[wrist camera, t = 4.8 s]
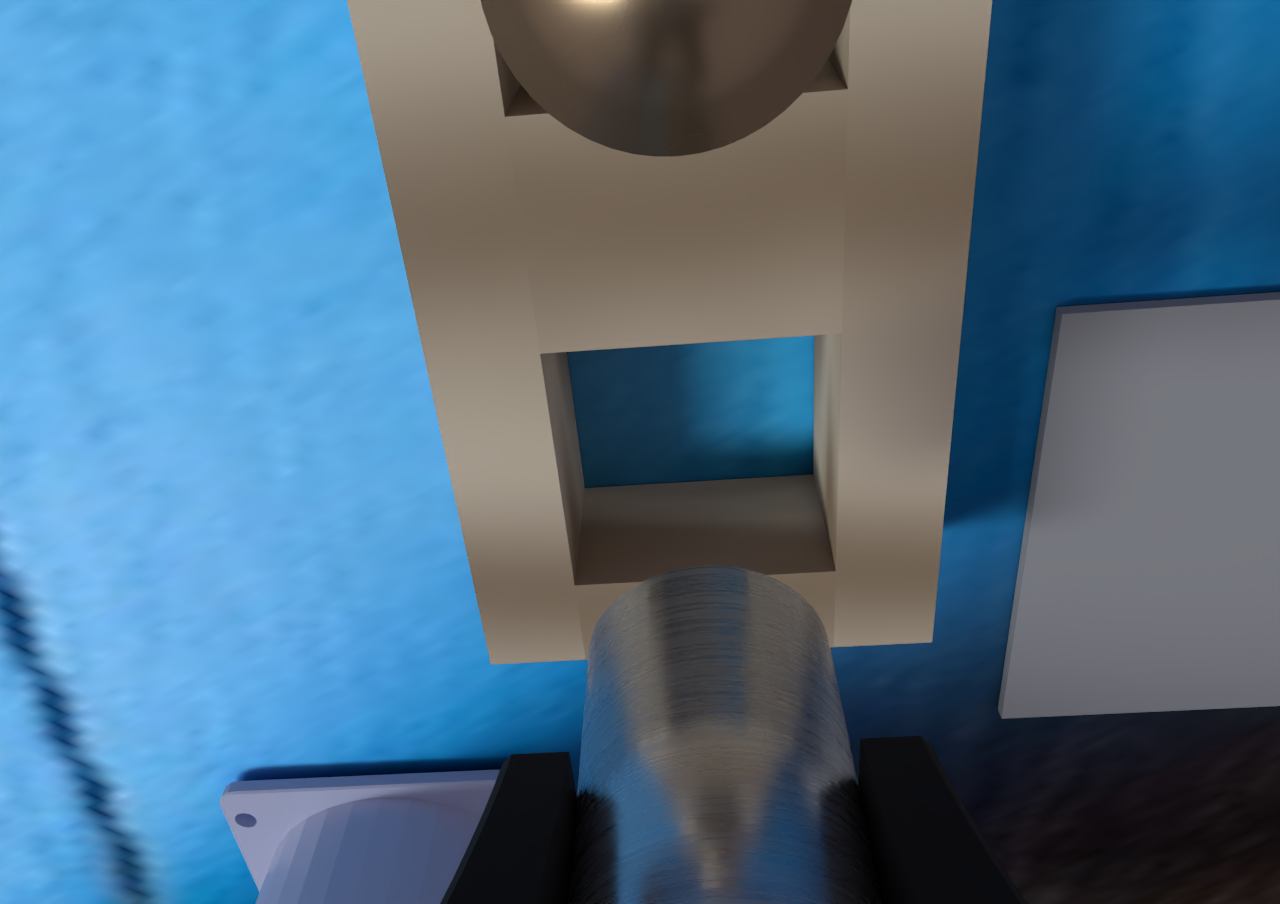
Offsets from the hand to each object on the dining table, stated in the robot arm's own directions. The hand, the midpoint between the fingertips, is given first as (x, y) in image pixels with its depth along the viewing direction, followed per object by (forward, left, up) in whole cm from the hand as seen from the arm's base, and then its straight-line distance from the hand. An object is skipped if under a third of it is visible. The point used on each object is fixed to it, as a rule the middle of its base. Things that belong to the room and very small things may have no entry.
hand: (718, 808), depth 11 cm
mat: (-4, -10, -10) cm, 14 cm away
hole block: (+4, 0, -10) cm, 10 cm away
